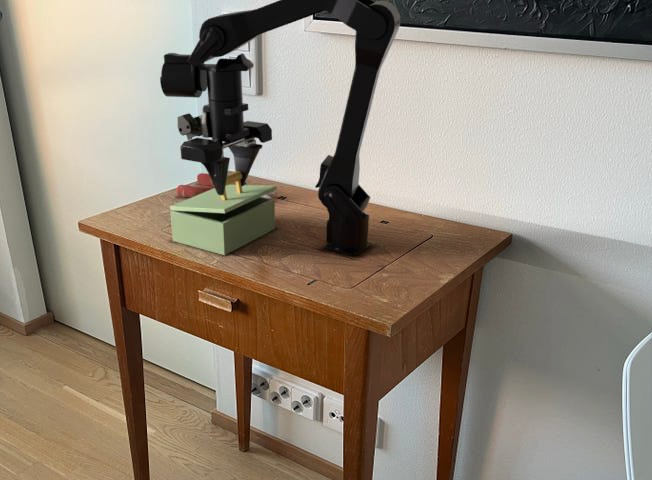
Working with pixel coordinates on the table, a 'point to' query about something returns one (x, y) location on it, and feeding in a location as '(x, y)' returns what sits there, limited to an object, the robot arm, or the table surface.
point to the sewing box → (224, 226)
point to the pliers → (203, 180)
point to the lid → (224, 197)
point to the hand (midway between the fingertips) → (230, 190)
